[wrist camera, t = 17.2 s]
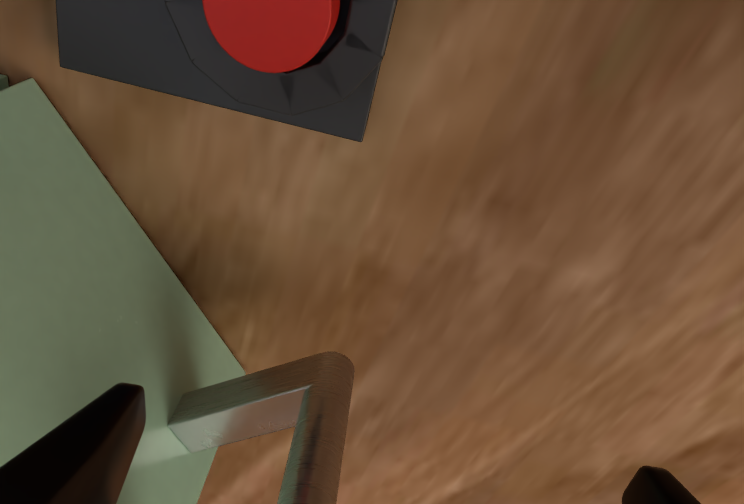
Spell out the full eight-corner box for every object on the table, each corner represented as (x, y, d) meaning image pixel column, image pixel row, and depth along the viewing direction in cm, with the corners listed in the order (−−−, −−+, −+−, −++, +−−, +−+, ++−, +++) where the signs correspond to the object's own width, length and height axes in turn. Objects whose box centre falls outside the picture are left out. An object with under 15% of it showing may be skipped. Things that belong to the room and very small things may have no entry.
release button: (351, -54, 14) (344, -50, 13) (328, 71, 16) (319, 87, 14) (228, -87, 14) (205, -88, 13) (217, 42, 16) (196, 56, 14)
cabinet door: (197, -10, 17) (-143, 109, 7) (381, 332, 24) (352, 659, 13) (16, 85, 19) (-460, 288, 9) (231, 376, 26) (105, 690, 15)
